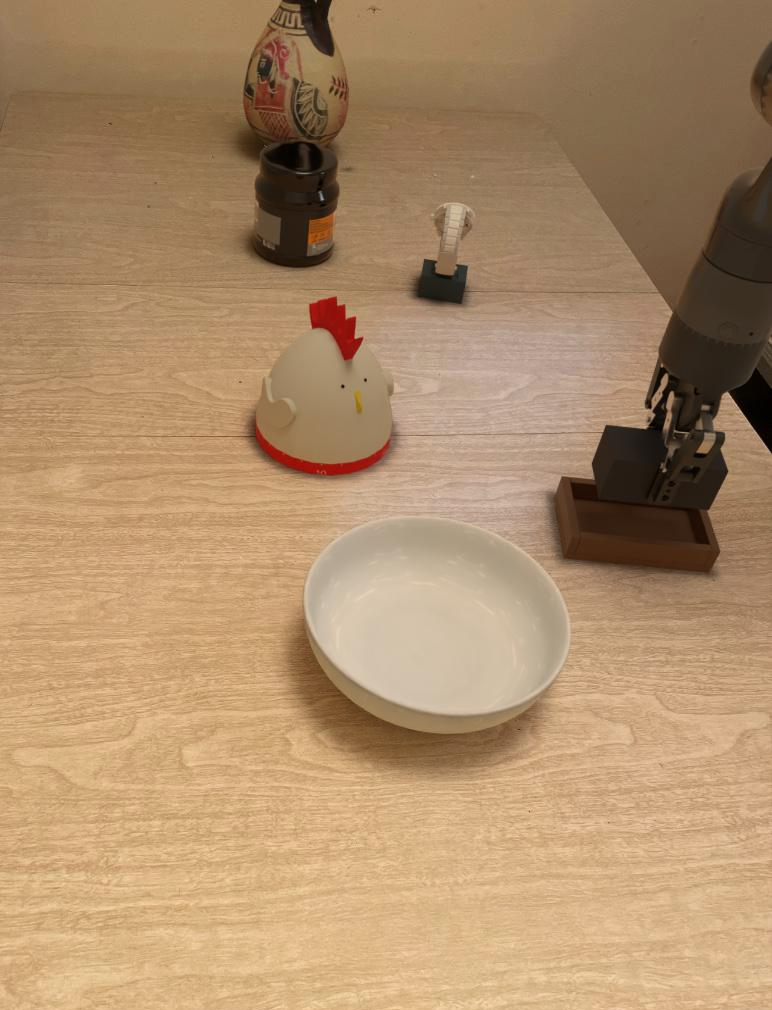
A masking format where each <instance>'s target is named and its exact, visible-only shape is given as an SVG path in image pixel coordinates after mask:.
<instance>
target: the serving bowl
mask: <svg viewBox="0 0 772 1010" xmlns="http://www.w3.org/2000/svg"><path fill="white" fill-rule="evenodd" d="M301 604H302V613H303V620H304V621H303V622H304V627H305V631H306V635H307V639H308V642H309V645H310V648H311V650H312V653H313V654H314V657H315V658H316V660H317V662H318V664H319V665H320V667H321V669H322V670H323V671H324V673H325V674H326V676H327V678H329V680H330V681H331V682H332V684H334V686H335V688H337V689H338V690H339V691H340V692H341V693H342V694H344V695H345V696H346V697H347V698H348V699H349V700H350V701H351V702H353V703H354V704H356V705H357V706H358V707H359V708H360V709H363V710H364V711H365V712H368V713H369V714H371V715H372V716H374V717H377V718H379V719H381V720H383V721H385V722H387V723H390V724H392V725H395V726H398V727H401V728H405V729H409V730H413V731H416V732H417V731H418V732H424V733H431V734H445V735H446V734H447V735H448V734H449V735H450V734H466V733H472V732H478V731H482V730H483V731H484V730H486V729H490V728H493V727H496V726H498V725H501V724H504V723H506V722H508V721H510V720H512V719H513V718H515V717H517V716H519V715H521V714H522V713H524V712H525V711H527V710H528V709H530V708H531V707H532V706H533V705H534V704H535V703H536V702H538V701H539V700H540V699H541V698H542V697H543V696H545V693H547V691H548V690H549V689H550V688H551V686H553V684H554V683H555V681H556V680H557V679H558V677H559V676H560V675H561V673H562V671H563V669H564V667H565V665H566V663H567V661H568V658H569V656H570V655H569V654H570V651H571V646H572V640H573V639H572V638H573V637H572V636H573V635H572V622H571V617H570V613H569V609H568V606H567V604H566V601H565V599H564V596H563V594H562V592H561V591H560V589H559V587H558V585H557V584H556V583H555V581H554V579H553V578H552V577H551V576H550V574H549V573H548V572H547V571H546V570H545V569H544V568H543V566H542V565H541V564H540V563H539V562H538V561H537V560H536V559H534V558H533V557H532V556H531V555H530V554H529V553H528V552H526V551H524V549H522V548H521V547H519V546H517V544H515V543H513V542H511V541H510V540H508V539H506V538H505V537H503V536H501V535H499V534H497V533H495V532H493V531H490V530H488V529H486V528H483V527H481V526H478V525H476V524H472V523H468V522H465V521H461V520H457V519H454V518H448V517H442V516H434V515H418V514H415V515H412V514H411V515H397V516H388V517H383V518H378V519H375V520H371V521H368V522H367V521H366V522H364V523H361V524H359V525H357V526H354V527H353V528H350V529H348V530H346V531H345V532H343V533H342V534H340V535H338V536H337V537H335V538H334V539H333V540H331V541H330V542H329V543H328V544H327V545H326V546H324V548H323V549H322V550H321V551H320V552H319V553H318V554H317V556H316V557H315V559H314V560H313V562H312V563H311V565H310V567H309V568H308V571H307V573H306V575H305V578H304V584H303V588H302V603H301Z"/></svg>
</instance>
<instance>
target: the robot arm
mask: <svg viewBox="0 0 772 1010" xmlns="http://www.w3.org/2000/svg"><path fill="white" fill-rule="evenodd" d="M749 81H750V83H749V93H750V99H751V102H752V104H753V106H754V108H755V110H756V112H757V113H758V114H759V115H760V117H761V118H762V119H763V120H764V121H765V122H766V123H767V124H768V125H769V126H770V127H771V128H772V38H771V39H770V40H769V41H768V42H767V44H766V45H765V47H764V48H763V50H761V53H760V54H759V56H758V58H757V60H756V62H755V64H754V67H753V69H752V72H751V77H750V80H749ZM771 336H772V155H771V156H770V158H769V160H768V161H767V162H766V164H765V166H755V167H751V168H748V169H745V170H742V171H741V172H740V173H738V174H737V175H735V176H734V177H733V178H732V180H731V181H730V182H729V184H728V185H727V187H726V189H725V191H724V193H723V195H722V196H721V199H720V201H719V203H718V206H717V208H716V210H715V214H714V216H713V218H712V221H711V224H710V226H709V229H708V230H707V234H706V236H705V239H704V241H703V243H702V246H701V248H700V250H699V253H698V254H697V256H696V257H695V259H694V262H693V263H692V265H691V267H690V269H689V271H688V273H687V275H686V277H685V280H684V282H683V284H682V287H681V290H680V293H679V295H678V297H677V300H676V302H675V305H674V308H673V309H672V312H671V315H670V318H669V320H668V323H667V325H666V328H665V331H664V333H663V336H662V338H661V341H660V344H659V346H658V351H657V352H658V354H657V355H658V356H657V360H656V364H655V366H654V370H653V374H652V376H651V380H650V383H649V387H648V390H647V392H646V397H645V399H644V409H645V410H646V409H647V410H649V411H648V413H647V415H646V416H645V425H646V428H645V429H651V430H660V431H662V435H661V442H662V443H663V444H664V450H663V454H662V457H661V461H660V464H659V467H658V469H657V472H656V474H655V476H654V478H653V481H652V483H651V485H650V488H649V490H648V492H647V494H646V499H647V502H648V504H651V505H660V506H668V505H670V504H671V503H672V502H673V500H674V497H675V495H676V493H677V491H678V489H679V487H680V485H681V482H688V483H697V482H698V481H699V480H700V478H701V477H702V475H703V474H704V472H705V471H706V469H707V468H708V466H709V465H710V464H711V462H712V461H713V459H714V458H715V456H716V455H717V453H718V452H719V450H720V449H721V450H722V447H724V444H725V442H726V434H725V431H720V430H719V431H718V430H715V428H714V420H715V418H717V416H718V414H719V411H720V407H721V405H722V404H721V403H722V397H723V396H724V395H725V394H726V393H728V392H730V391H731V390H734V389H736V388H740V387H742V386H743V385H744V384H746V383H747V382H748V381H749V380H750V379H751V377H752V375H753V373H754V371H755V369H756V367H757V365H758V363H759V361H760V359H761V357H762V355H763V353H764V350H765V349H766V347H767V345H768V342H769V341H770V338H771ZM674 432H679V433H689V434H685V437H683V436H673V433H674ZM677 448H680V449H679V450H678V452H677V454H676V455H675V457H674V458H673V460H672V457H673V453H674V450H675V449H677Z"/></svg>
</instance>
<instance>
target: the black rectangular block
mask: <svg viewBox="0 0 772 1010" xmlns="http://www.w3.org/2000/svg"><path fill="white" fill-rule="evenodd" d="M685 434H689V433H686V432H678V431H674V433H673V436H683V437H685ZM661 435H662V431H660V430H651V429H646V428H642V427H641V428H639V427H631V426H621V425H612V424H606V425H604V428H603V431H602V433H601V437H600V439H599V442H598V445H597V448H596V450H595V452H594V455H593V459H592V461H591V469H592V474H593V477H594V479H595V483H596V487H597V492H598V497H599V499H605V500H615V501H625V502H634V503H644V504H648V502H647V499H646V494H647V492H648V490H649V488H650V485H651V483H652V481H653V478H654V476H655V474H656V472H657V469H658V467H659V464H660V461H661V457H662V454H663V450H664V444H663V443H662V442H661ZM679 449H680V448H677V449H675V450H674V453H673V457H672V460H673V458H674V457H675V455H676V454H677V452H678V450H679ZM728 474H729V468H728V466H727V463H726V460H725V456H724V455H723V452H722V448H721V449H720V450H719V452H718V453H717V455H716V456H715V458H714V459H713V461H712V462H711V464H710V465H709V466H708V468H707V469H706V471H705V472H704V474H703V475H702V477H701V478H700V480H699V481H698V482H697V483H688V482H681V485H680V487H679V489H678V491H677V493H676V495H675V497H674V500H673V502H672V503H671V504H670V505H668V506H673V507H682V508H692V509H702V510H707V511H710V509H711V508H712V505H713V504H714V502H715V500H716V498H717V496H718V494H719V491H720V490H721V488H722V486H723V484H724V482H725V480H726V479H727V476H728Z"/></svg>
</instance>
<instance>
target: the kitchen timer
mask: <svg viewBox="0 0 772 1010" xmlns="http://www.w3.org/2000/svg"><path fill="white" fill-rule="evenodd" d="M346 309H347V308H346V304H345V303H343V304H340V305H338V297H337V296H336V295H335V296H331V297H327V298H323V299H318V300H317V301H316V302H311V303H308V310H309V312H308V313H309V319H310V320H309V321H310V325H311V329H310V330H308V331H306V332H304V333H303V334H300V335H299V336H298V337H296V338H295V339H294V340H293V341H292V342H291V343H290V344H289V345H288V346H287V347H286V348H285V349H284V350H283V351H282V352H281V353H280V355H279V356H278V357H277V358H276V360H275V361H274V363H273V365H272V367H271V370H270V371H269V374H268V376H264V377H263V378H262V382H261V393H260V395H259V399H258V402H257V406H256V410H255V420H254V421H255V422H254V424H255V425H254V426H255V437H256V440H257V441H258V443H259V444H260V447H261V448H262V450H263V451H265V453H267V454H268V455H269V456H270V457H271V458H272V459H273V460H274V461H276V462H278V463H280V464H282V465H284V466H286V467H288V468H290V469H293V470H296V471H300V472H303V473H307V474H311V475H320V476H321V475H322V476H339V475H349V474H353V473H355V472H359V471H362V470H365V469H368V468H370V467H371V466H372V465H374V464H376V463H377V462H379V461H380V460H381V459H382V458H383V456H384V455H385V454H386V453H387V451H388V449H389V446H390V441H391V437H392V430H393V419H394V418H393V409H392V403H391V398H390V397H392V396H393V394H394V391H395V390H394V389H395V384H394V383H395V382H394V378H393V374H392V372H391V370H390V369H388V368H386V369H383V368H382V366H381V364H380V362H379V360H378V359H377V357H376V356H375V354H374V353H373V351H372V350H371V349H370V347H369V346H368V345H367V343H366V342H364V336H360V337H359V336H358V335H356V327H357V316H356V315H355V316H350V317H347V312H346V311H347V310H346Z"/></svg>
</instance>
